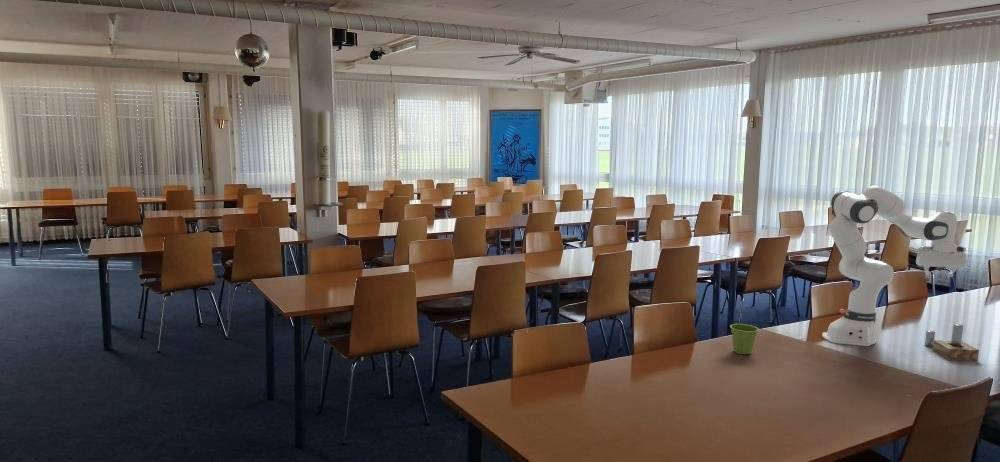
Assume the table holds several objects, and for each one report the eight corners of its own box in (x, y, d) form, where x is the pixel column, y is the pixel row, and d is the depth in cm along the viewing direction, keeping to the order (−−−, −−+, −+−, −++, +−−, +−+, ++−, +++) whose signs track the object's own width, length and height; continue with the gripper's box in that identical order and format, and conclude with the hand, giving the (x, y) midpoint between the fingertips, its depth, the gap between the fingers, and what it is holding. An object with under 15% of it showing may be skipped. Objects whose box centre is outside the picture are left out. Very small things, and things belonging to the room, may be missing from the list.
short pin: (926, 347, 298) (928, 332, 297) (923, 344, 301) (924, 330, 300) (935, 347, 298) (936, 332, 297) (931, 345, 301) (932, 330, 300)
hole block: (947, 359, 281) (948, 348, 280) (932, 350, 293) (933, 340, 292) (977, 361, 280) (979, 350, 279) (961, 352, 291) (962, 341, 291)
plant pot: (759, 357, 280) (761, 332, 278) (730, 355, 282) (732, 330, 280) (754, 349, 291) (756, 324, 290) (726, 347, 294) (728, 322, 292)
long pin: (952, 357, 285) (956, 326, 283) (947, 354, 288) (951, 323, 286) (961, 357, 284) (965, 326, 282) (956, 355, 288) (960, 324, 286)
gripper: (921, 247, 298) (918, 276, 300) (970, 248, 296) (966, 278, 298) (914, 244, 304) (911, 274, 306) (962, 246, 302) (958, 275, 304)
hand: (939, 276), depth 302 cm, fingers open, 8 cm apart
